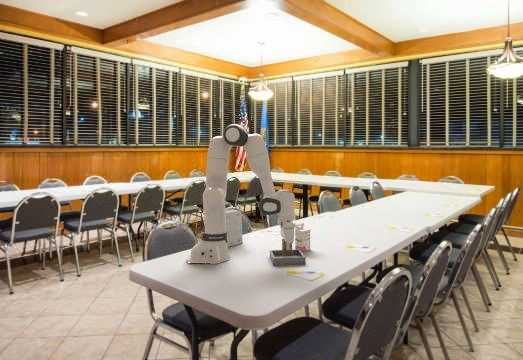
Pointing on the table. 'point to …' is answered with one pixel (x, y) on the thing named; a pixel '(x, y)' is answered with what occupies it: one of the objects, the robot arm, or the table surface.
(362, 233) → the table surface
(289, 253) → the walnut block
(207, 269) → the table surface
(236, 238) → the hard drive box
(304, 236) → the ink cartridge box
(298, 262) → the sorting tray
